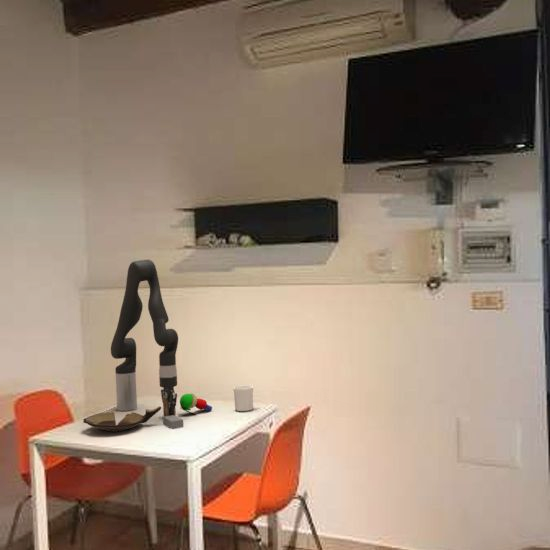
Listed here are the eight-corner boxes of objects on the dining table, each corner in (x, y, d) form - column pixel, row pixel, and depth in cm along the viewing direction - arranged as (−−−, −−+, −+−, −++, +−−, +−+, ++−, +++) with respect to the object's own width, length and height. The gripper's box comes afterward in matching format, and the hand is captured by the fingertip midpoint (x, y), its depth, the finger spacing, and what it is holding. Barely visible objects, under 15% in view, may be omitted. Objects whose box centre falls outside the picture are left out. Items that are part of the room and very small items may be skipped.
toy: (198, 417, 273) (173, 405, 265) (205, 401, 276) (180, 389, 267) (209, 420, 267) (183, 408, 258) (215, 403, 269) (190, 391, 261)
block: (163, 418, 259) (162, 395, 259) (172, 417, 261) (171, 394, 261) (166, 420, 256) (166, 397, 256) (175, 418, 258) (174, 395, 258)
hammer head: (163, 423, 250) (163, 416, 250) (174, 422, 252) (174, 414, 252) (171, 428, 241) (171, 421, 241) (183, 426, 244) (183, 419, 244)
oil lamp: (97, 422, 257) (96, 405, 257) (165, 421, 254) (164, 403, 254) (74, 437, 234) (73, 417, 234) (148, 436, 231) (148, 416, 231)
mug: (251, 412, 264) (250, 389, 264) (232, 412, 266) (231, 389, 266) (256, 406, 275) (255, 384, 275) (238, 406, 277) (237, 384, 276)
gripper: (154, 374, 263) (155, 413, 263) (165, 378, 250) (167, 419, 250) (170, 372, 266) (171, 410, 266) (182, 376, 254) (183, 416, 254)
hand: (169, 414), depth 258 cm, fingers closed on block, 4 cm apart
